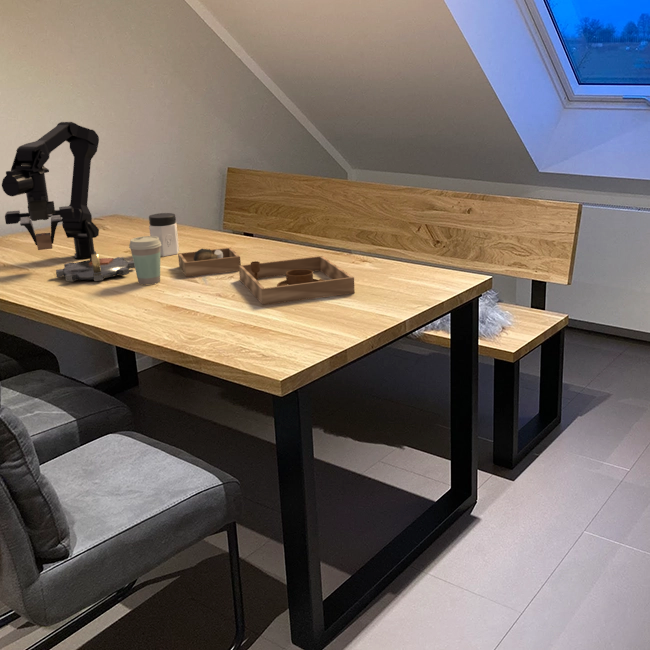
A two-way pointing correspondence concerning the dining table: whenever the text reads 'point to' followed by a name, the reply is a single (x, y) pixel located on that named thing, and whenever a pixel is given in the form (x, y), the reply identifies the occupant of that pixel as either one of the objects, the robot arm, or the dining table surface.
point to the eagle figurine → (207, 254)
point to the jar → (165, 232)
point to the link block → (44, 241)
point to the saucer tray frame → (296, 292)
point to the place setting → (289, 275)
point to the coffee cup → (146, 258)
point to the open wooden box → (209, 263)
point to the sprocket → (95, 268)
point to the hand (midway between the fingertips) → (44, 244)
